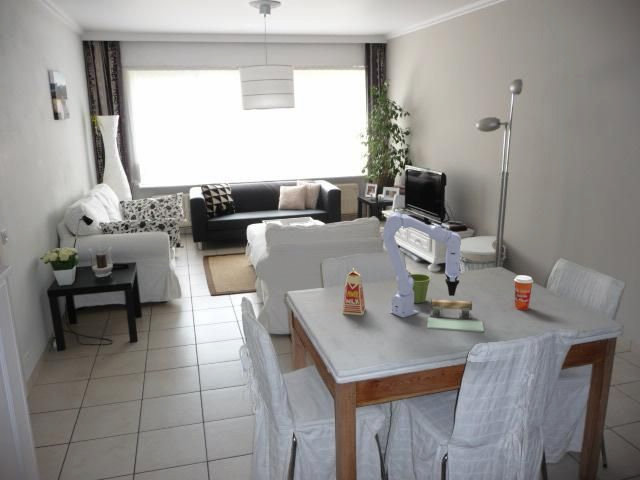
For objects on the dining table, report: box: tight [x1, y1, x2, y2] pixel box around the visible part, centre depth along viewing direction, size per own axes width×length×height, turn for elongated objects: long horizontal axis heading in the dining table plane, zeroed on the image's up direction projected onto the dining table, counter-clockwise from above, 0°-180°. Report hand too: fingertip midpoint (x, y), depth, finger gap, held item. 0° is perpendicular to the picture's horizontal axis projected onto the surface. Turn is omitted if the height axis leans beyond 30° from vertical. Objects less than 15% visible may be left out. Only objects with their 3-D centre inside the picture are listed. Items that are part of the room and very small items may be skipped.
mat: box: [426, 317, 485, 333], centre depth 217 cm, size 22×10×1 cm, turn 77°
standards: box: [429, 305, 472, 320], centre depth 227 cm, size 17×5×5 cm, turn 77°
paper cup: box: [513, 274, 534, 311], centre depth 233 cm, size 8×8×14 cm
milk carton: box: [341, 267, 366, 316], centre depth 233 cm, size 9×9×20 cm
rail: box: [430, 298, 473, 311], centre depth 226 cm, size 17×3×3 cm, turn 77°
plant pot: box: [409, 273, 432, 304], centre depth 245 cm, size 12×12×11 cm
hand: (451, 292), depth 225 cm, fingers open, 7 cm apart
